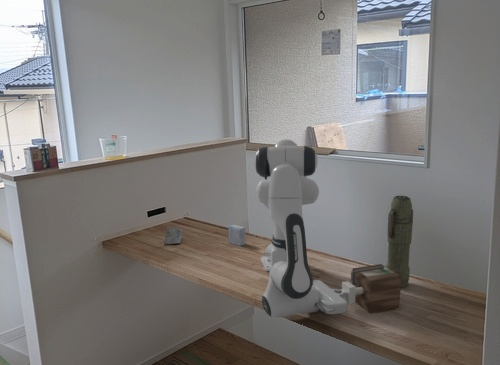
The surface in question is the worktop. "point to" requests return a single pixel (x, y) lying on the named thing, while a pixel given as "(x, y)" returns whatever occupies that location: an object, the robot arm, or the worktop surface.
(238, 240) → the medicine box
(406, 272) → the olive green tall piece
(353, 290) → the peg
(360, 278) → the block
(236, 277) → the worktop surface
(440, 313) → the worktop surface
